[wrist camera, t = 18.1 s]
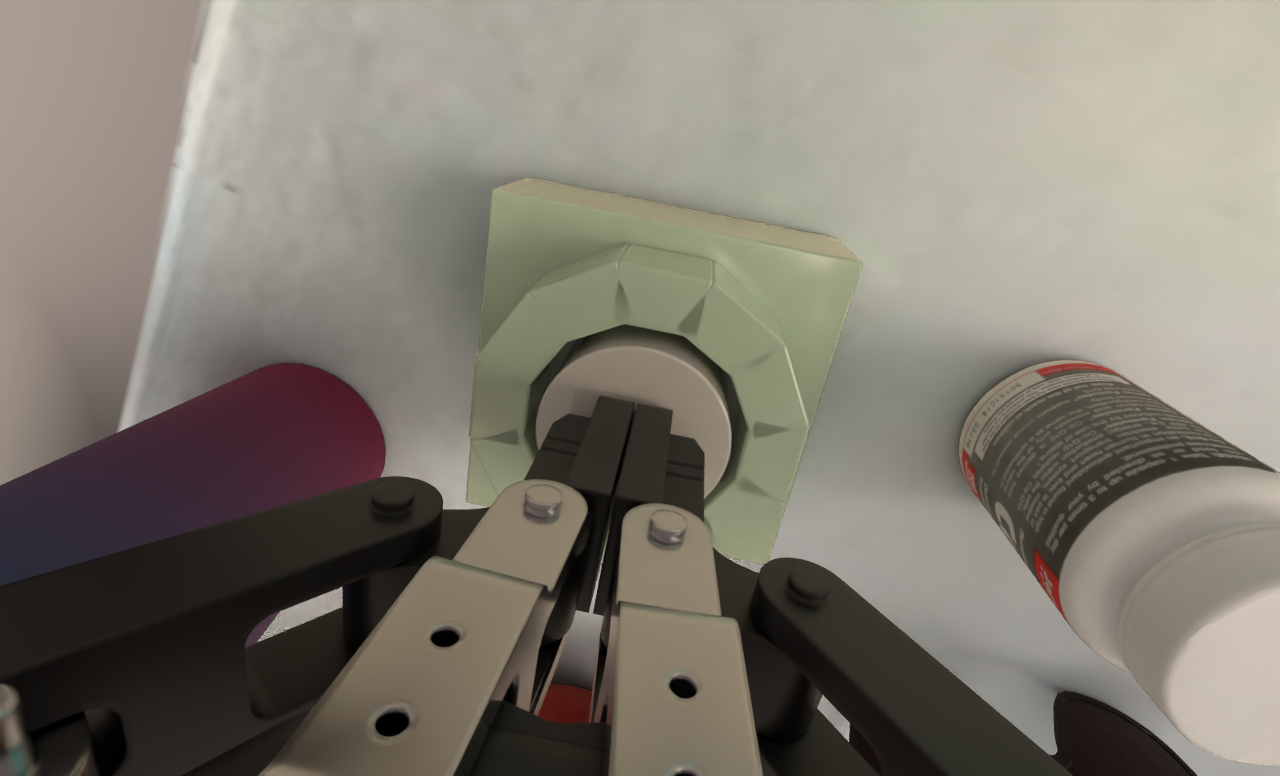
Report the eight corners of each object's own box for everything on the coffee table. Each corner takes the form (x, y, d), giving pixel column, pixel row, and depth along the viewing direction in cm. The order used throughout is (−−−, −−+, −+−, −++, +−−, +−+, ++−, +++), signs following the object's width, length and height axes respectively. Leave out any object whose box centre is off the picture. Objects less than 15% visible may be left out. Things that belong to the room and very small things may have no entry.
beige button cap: (747, 336, 14) (753, 370, 12) (708, 490, 16) (708, 541, 14) (568, 300, 14) (547, 328, 12) (546, 457, 16) (524, 502, 14)
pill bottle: (919, 461, 18) (1069, 707, 11) (1037, 323, 17) (1318, 500, 9) (1054, 537, 19) (1289, 824, 11) (1183, 410, 17) (1568, 648, 9)
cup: (342, 565, 22) (-271, 1315, 8) (166, 438, 21) (-915, 1076, 7) (456, 437, 20) (-136, 1192, 6) (265, 285, 18) (-1069, 794, 5)
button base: (838, 237, 16) (888, 284, 12) (759, 502, 19) (774, 622, 15) (527, 176, 17) (457, 198, 12) (499, 449, 20) (434, 550, 15)
